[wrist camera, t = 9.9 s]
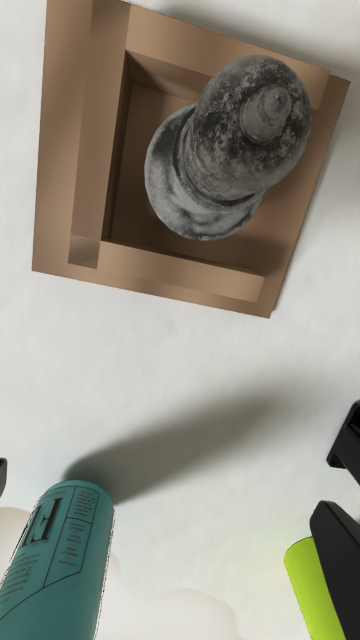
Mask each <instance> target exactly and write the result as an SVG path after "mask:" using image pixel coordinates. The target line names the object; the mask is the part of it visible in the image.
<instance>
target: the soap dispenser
mask: <svg viewBox="0 0 360 640" xmlns="http://www.w3.org/2000/svg"><path fill="white" fill-rule="evenodd" d="M284 565H285V567H286V570H287V573H288V576H289V579H290V581H291V584H292V587H293V590H294V592H295V595H296V598H297V601H298V603H299V606H300V609H301V612H302V614H303V617H304V620H305V623H306V625H307V628H308V631H309V634H310V636H311V639H312V640H346V639H345V636H344V633H343V631H342V628H341V625H340V622H339V620H338V617H337V614H336V611H335V609H334V606H333V603H332V600H331V597H330V595H329V592H328V588H327V585H326V582H325V579H324V575H323V572H322V568H321V565H320V561H319V558H318V554H317V551H316V547H315V544H314V540H313V537H312V538H307V539H304V540H301V541H299V542H297V543H295V544H294V545H293V546H291V547H290V548H289V549H288V551H287V552H286V554H285V556H284Z"/></svg>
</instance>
